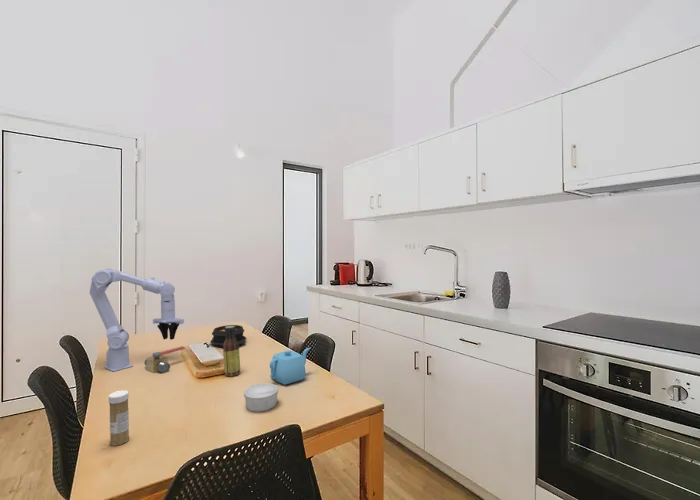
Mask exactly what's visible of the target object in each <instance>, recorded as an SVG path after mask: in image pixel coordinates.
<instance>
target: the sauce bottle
mask: <svg viewBox="0 0 700 500" xmlns="http://www.w3.org/2000/svg"><path fill="white" fill-rule="evenodd" d="M225 326H226V325H225ZM225 334H226V336H225V337H226V338H225V341H224V343H223V346H222V350H223V351H222V352H223V353H222V354H223V355H222V356H223V369H224V370H223V371H224V375H225V377H236V376H238V375H240V373H241V361H240V360H241V359H240V344H239V345H238V342H237V339H236V337H235V326H226V327H225Z"/></svg>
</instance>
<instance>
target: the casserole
mask: <svg viewBox="0 0 700 500" xmlns="http://www.w3.org/2000/svg"><path fill="white" fill-rule="evenodd" d="M226 326H235V337H236V339H237V342H238V345H239V346H240V345H242V344H245V343H246V340H247V336H245V335H244V332H245V329H244V328H243V326H242V325H238V324H230V325H229V324H228V325H227V324H226V325H221V326H217V327H215V328H214V329H213V331H212V333H211V335H212V336H213V337H212V339H211V340H210V341H209V343H210V344H212V345H216V346H221V347H223V343H224V341H225V338H226V337H225V336H226V334H225V327H226Z"/></svg>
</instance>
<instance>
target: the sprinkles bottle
mask: <svg viewBox="0 0 700 500" xmlns="http://www.w3.org/2000/svg"><path fill="white" fill-rule="evenodd" d="M108 403H109V435H110V440H109V444H110V446H113V447H115V446H117V447H118V446H120V445H124V444H125V443H127V442H129V440H130V435H129V434H130V433H129V432H130V431H129V430H130V429H129V428H130V417H129V391H128V390H117V391H114V392H112V393H111V392H110V394H109V395H108Z"/></svg>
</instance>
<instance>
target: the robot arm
mask: <svg viewBox="0 0 700 500" xmlns="http://www.w3.org/2000/svg"><path fill="white" fill-rule="evenodd" d="M116 282H125V283H129V284H133V285H137V286H139V287H141V289H142V290H143V291H147V292H149V293H154V294H157V295H160V296H161V297H160V299H161V300H160V314H161V316H160V317H161V318H154V319H152V324H153V325H155V324H157V328H158V329H159V331H160V334H161V336H162V339H163V340H168V338H169V339H170V340H174V339H175V336H176V333H177V331H178V328H179V326H180V325H183V324H184V323H185V319H184V318H177V317H176V303H175V302H176V300H175V291H176V287H175V286H174V284H172V283H171V282H167V283H166V281H164V280H163V281H161V280H157V279H156V278H155V277H147V278H142V277H139V276H135V275H133V274H130V273H127V272H124V271H122V270H116V269H112V268H104V269H100V270H97V271H96V272H95V274H93V276H92V277H91V283H90V288H89V295H90V296H91V299H92V301H93V304H94V306H95V308H96V310H97V312H98V315H99V316H100V319H101V321H102V323H103V325H104V327H105V329H106V338H107V346H108V349H107V350H106V353H105V354H106V365H105V366H104V369H106V370H108V371H111V372H117V371H121V370H124V369H128V368H132V367H134V365H133V364H131V363H130V357H129V356H130V355H129V354H130V353H129V344H128V341H129V340H130V335H129V333H128V331H126V330H125V329H124V328H123V326H122V325H121V324H120V322H119V320H118V318H117V316H116V313H115V311H114V309H113V306H112V304H111V302H110V300H109V299H108V296H107V294H106V291H107V289H108V288H109V286H110V285H111V284H112V283H116Z"/></svg>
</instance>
